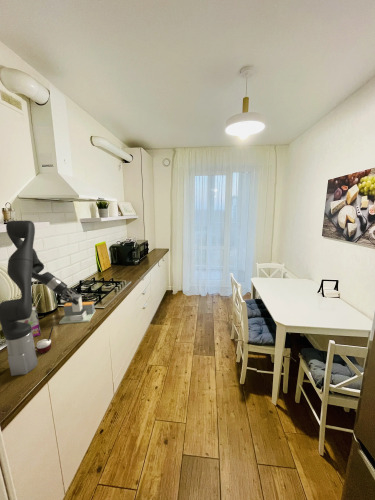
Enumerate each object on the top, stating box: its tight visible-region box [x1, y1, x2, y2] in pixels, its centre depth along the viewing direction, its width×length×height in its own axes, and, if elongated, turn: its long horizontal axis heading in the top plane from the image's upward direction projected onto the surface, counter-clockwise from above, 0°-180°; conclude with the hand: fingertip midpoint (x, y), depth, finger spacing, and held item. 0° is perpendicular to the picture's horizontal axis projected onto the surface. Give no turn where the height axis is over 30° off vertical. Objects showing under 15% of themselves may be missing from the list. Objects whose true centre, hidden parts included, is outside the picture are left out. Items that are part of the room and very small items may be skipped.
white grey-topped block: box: [71, 293, 83, 312], centre depth 134 cm, size 4×4×10 cm
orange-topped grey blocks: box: [58, 301, 97, 325], centre depth 138 cm, size 14×18×8 cm
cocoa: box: [35, 326, 54, 354], centre depth 105 cm, size 10×6×12 cm, turn 98°
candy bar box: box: [18, 306, 42, 338], centre depth 116 cm, size 11×5×16 cm, turn 129°
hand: (79, 302), depth 135 cm, fingers closed on white grey-topped block, 4 cm apart
